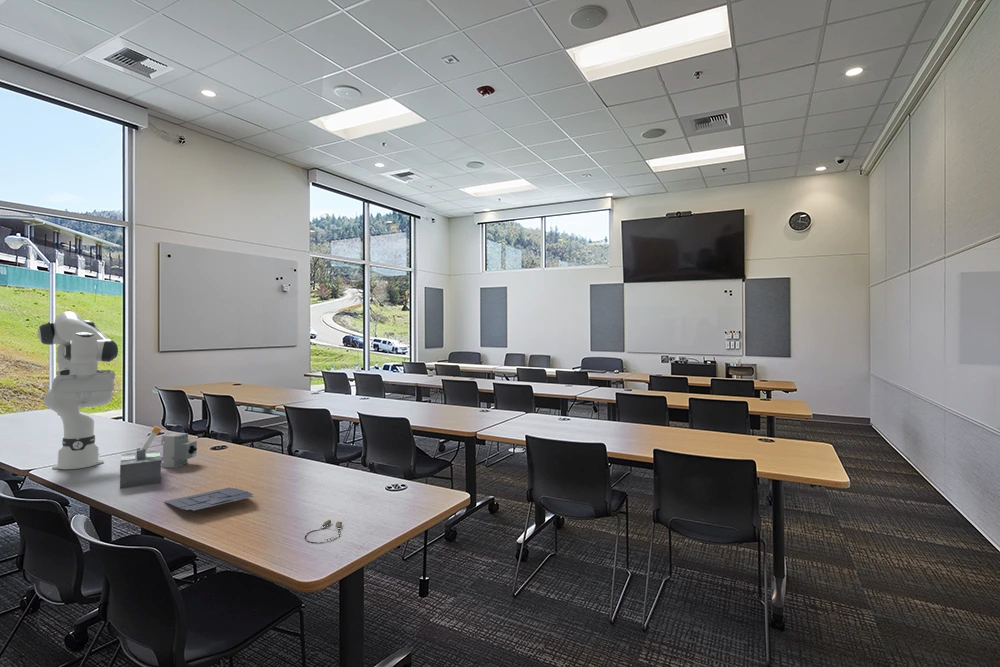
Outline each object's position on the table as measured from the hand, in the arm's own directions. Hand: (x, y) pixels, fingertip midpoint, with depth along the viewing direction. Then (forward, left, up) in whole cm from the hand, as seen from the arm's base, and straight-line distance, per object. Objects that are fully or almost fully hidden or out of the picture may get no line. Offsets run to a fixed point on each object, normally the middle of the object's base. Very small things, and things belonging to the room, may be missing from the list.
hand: (83, 402), depth 208 cm
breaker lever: (+4, +19, -25) cm, 32 cm away
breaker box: (+4, +20, -35) cm, 41 cm away
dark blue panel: (+55, +42, -36) cm, 78 cm away
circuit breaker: (-14, +36, -35) cm, 52 cm away
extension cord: (+108, +70, -36) cm, 133 cm away
